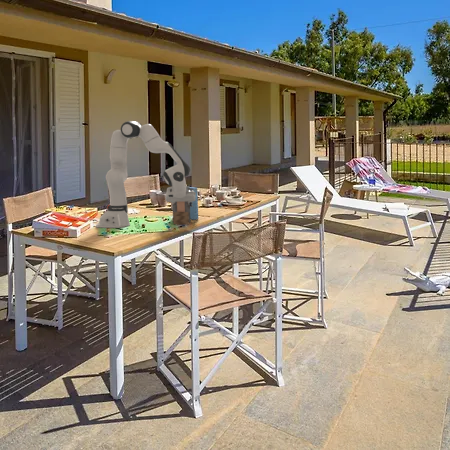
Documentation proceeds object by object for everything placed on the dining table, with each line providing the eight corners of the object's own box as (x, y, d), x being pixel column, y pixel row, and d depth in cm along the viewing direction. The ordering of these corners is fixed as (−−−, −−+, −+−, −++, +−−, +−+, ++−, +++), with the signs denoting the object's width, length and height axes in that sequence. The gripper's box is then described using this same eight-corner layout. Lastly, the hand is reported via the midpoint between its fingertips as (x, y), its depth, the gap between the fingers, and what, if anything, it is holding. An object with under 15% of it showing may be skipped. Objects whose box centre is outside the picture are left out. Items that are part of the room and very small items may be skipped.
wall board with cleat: (172, 224, 343) (171, 188, 338) (173, 222, 352) (172, 186, 347) (189, 224, 343) (189, 188, 338) (190, 222, 352) (189, 186, 347)
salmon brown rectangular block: (177, 215, 345) (176, 197, 342) (177, 214, 349) (177, 197, 346) (184, 215, 345) (184, 197, 342) (184, 214, 349) (184, 197, 346)
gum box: (198, 218, 364) (197, 187, 360) (194, 220, 360) (193, 188, 356) (177, 216, 375) (176, 185, 371) (173, 217, 371) (172, 186, 367)
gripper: (195, 187, 337) (196, 199, 348) (164, 187, 336) (166, 200, 347) (195, 194, 333) (196, 207, 344) (164, 195, 332) (166, 207, 344)
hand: (181, 203), depth 346 cm, fingers open, 8 cm apart
